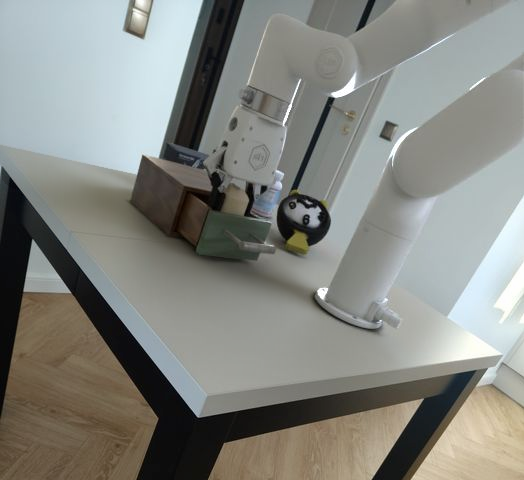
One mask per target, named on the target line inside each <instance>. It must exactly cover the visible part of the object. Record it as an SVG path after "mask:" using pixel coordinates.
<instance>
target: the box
mask: <svg viewBox="0 0 524 480" xmlns="http://www.w3.org/2000/svg"><path fill="white" fill-rule="evenodd" d="M209 156H210V155H209V154H207V153H204V152H201V151H197V150H194V149H191V148H188V147H186V146H185V147H184V146H182V145H178V144H175V143H172V142H169V141H167V142H166V144H165V148H164V151H163V155H162V158H161V159H163V160H167V161H171V162H175V163H179V164H183V165H187V166H191V167H194V168H198V169H202V170H205V171H206V169H205V167H204V165H203V161H204V160H205V159H207V158H208V157H209ZM217 170H218V168H217V167H216V171H217ZM206 172H207V171H206Z"/></svg>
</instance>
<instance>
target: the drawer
mask: <svg viewBox="0 0 524 480" xmlns="http://www.w3.org/2000/svg"><path fill="white" fill-rule="evenodd" d="M208 199H209V195H204V194H199V193H195V192H190V191H186V195H185V198H184V201H183V204H182V208H181V211H180V214H179V217H178V221H177V224H176V227H175V229H176V230H177V231H178V232H179V233H181V234H182V235H183V236H184V237H185V238H184V239H186V240H187V241H189V242H190V243H191V244H192V245H193V246H194V247H196V249H195V252H196V253H197V254H198V255H199V256H200V255H201V256H209V257H210V256H211V257H218V258H227V259H237V260H244V261H253V262H258V260H259V257H260V255H261V254H266V255H267V254H268V255H274V254H276V252H277V248H276V246H275V245H271V244H268V243H267V242H266V240H267V237H268V234H269V232H270V229H271V227H272V224H273V223H272V222H271V221H269V220H266V219H261V218H260V217H259V215H258V214H256V213H254V212H252V211H251V212H250V214H249V217H246V216H241V215H236V214H230V213H225V212H220V211H214V210H212V208H210V207H209V206H208V205H207V202H208Z"/></svg>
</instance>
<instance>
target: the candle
mask: <svg viewBox="0 0 524 480" xmlns="http://www.w3.org/2000/svg"><path fill="white" fill-rule="evenodd" d="M224 193H226V197H225V200H224V203H223V206H222V209H221V212H225V213H230V214H236V215H241V216H244V213H245V210H246V208H247V205H248V202H249V199H248V196H247V194H246V193H245V189H242V188H241V187H239V186H238V185H236V184H235V183H234V182H230V183H229V185H228V186H227V188H226V189H225V191H224Z"/></svg>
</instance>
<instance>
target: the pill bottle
mask: <svg viewBox="0 0 524 480" xmlns="http://www.w3.org/2000/svg"><path fill="white" fill-rule="evenodd" d="M284 176H285V173H284V172H282V171H280V170H278V169H277V170H276V173H275V179H276V184H275V185H273V186H272V187H270V188H269V189H267V190H266V192H264V193H263V194H261V195H260V197H259V199H258V200H255V201H254V204H253V206H252V209H251V212H252V213H254V214H255V215H257V216H261V217H264V218H271V217H272V215H273V213H274V210H275V207H276V205H277V203H278V199H279V197H280V195H281V191H282V189H283V183H282V182H281V181H282V180H283V179H284Z"/></svg>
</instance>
